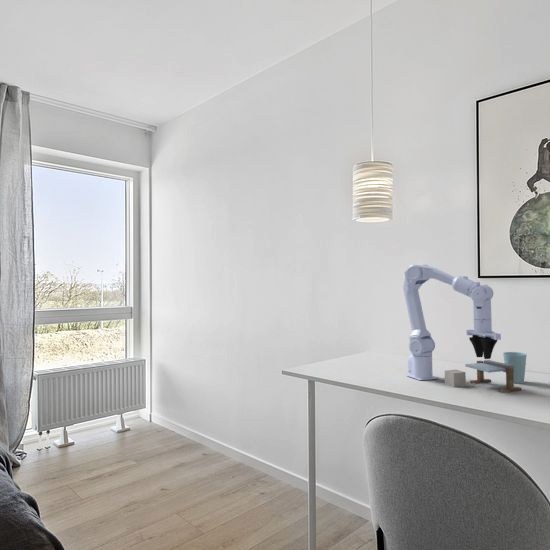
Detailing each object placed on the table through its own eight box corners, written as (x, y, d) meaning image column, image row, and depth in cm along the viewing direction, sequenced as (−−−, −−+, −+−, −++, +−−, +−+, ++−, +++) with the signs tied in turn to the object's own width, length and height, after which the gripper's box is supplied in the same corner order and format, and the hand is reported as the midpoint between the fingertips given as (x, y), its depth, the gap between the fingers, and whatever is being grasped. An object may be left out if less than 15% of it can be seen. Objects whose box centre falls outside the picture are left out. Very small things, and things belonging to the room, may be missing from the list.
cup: (502, 382, 166) (501, 354, 166) (505, 378, 173) (504, 351, 173) (525, 385, 162) (525, 355, 162) (527, 381, 168) (527, 352, 169)
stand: (470, 382, 167) (469, 361, 167) (487, 380, 170) (487, 360, 170) (502, 392, 152) (501, 369, 153) (521, 390, 155) (520, 367, 155)
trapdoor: (465, 368, 165) (465, 362, 165) (489, 366, 168) (489, 360, 168) (488, 375, 153) (488, 367, 153) (514, 372, 156) (513, 365, 156)
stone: (444, 384, 166) (444, 370, 167) (456, 383, 168) (456, 369, 168) (453, 387, 162) (453, 373, 162) (465, 386, 163) (465, 372, 163)
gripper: (507, 320, 154) (508, 360, 154) (477, 317, 168) (478, 354, 168) (490, 321, 152) (491, 362, 152) (461, 318, 166) (462, 355, 166)
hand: (483, 357), depth 160 cm, fingers open, 3 cm apart
